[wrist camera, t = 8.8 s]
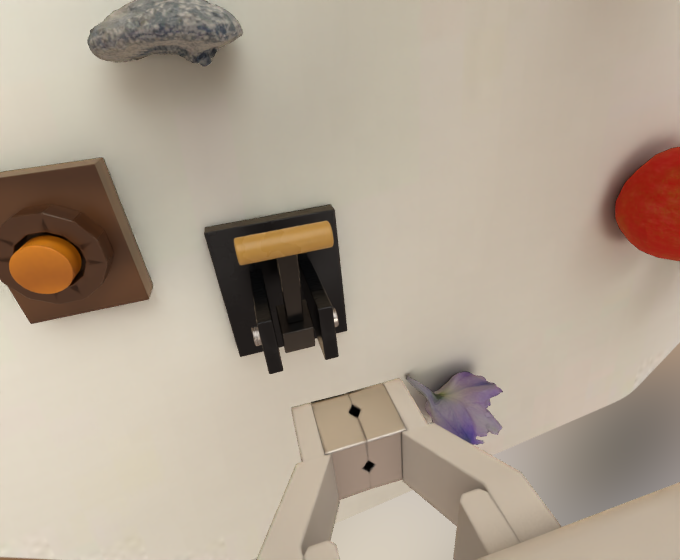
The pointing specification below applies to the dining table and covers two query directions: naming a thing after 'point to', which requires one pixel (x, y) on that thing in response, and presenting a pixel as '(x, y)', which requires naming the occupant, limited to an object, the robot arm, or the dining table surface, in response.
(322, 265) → the switch bracket
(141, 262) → the button block
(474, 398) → the flower
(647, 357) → the dining table surface
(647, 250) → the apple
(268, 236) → the switch lever
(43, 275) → the button
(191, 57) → the grey rock
